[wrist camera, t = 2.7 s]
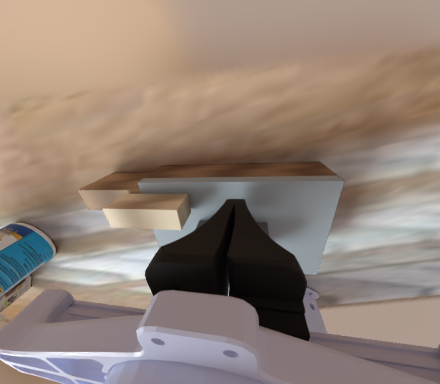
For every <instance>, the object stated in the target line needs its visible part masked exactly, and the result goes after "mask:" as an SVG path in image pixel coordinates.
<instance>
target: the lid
mask: <svg viewBox="0 0 440 384" xmlns="http://www.w3.org/2000/svg"><path fill="white" fill-rule="evenodd" d="M343 184H344V180H343V179H341V178H340V177H339V176H270V177H201V178H144V179H142V180H141V181H139V182H138V186H139V189H140V192H141V194H188V197H189V202H190V208H191V214H190V215H189V217H188V219H187V221H186V223H185V225H184V227H183V229H182V230H162V229H153V230H154V233H155V236H156V239H157V242H158V245H159V248H160V247H161V246H164V245H166V244H169V243H171V242H173V241H176V240H178V239H180V238H182V237H184V236H186V235H188V234H189V233H191V232H193V231H194V230H196V229H197V228H199V227H200V226H202V225H203V224H204V223H206V222H207V221H208V220H209V219H210V218H211V217H212V216H213V215H214V214H215V213H216V212H217V211H218V210H219V209H220V207H221V206H222V205H223V204H224V202H225V201H226V200H227V199H245V200H246V205H247V207H248V209H249V211H250V213H251V215H252V216H253V218H254V219H255V221H256V222H257V224H258V225H259V226H260V227H261V229H262V230H263V231H264V232H265V233H266V234H267V235H268V236H269V237H270V238H271V239H272V240H274V241H275V242H276V243H277V244H279V245H280V246H281V247H283V248H284V249H286V250H287V251H289V252H291V253H292V254H294V255H295V257H296V259H297V261H298V262H299V264H300V266H301V268H302V270H303V273H304V274H311V275H317V272H318V269H319V265H320V262H321V259H322V255H323V252H324V248H325V245H326V242H327V238H328V235H329V232H330V228H331V225H332V221H333V218H334V215H335V211H336V208H337V204H338V201H339V198H340V194H341V191H342V187H343Z"/></svg>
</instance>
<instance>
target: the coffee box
mask: <svg viewBox="0 0 440 384" xmlns="http://www.w3.org/2000/svg"><path fill="white" fill-rule="evenodd" d="M31 277H32V276H30V275H28V276H27V277H26V278H24V279H23V280H22V281H21V282H19V283H18V284H17V285H15V286H14V287H13V288H12V289H10V290H9V291H8V292H6V293H5V294H4V295H3V296H1V297H0V312H2V311H3V310H4V309H5V308H7V307H8V306H9V305H10V304H11V303H13V302H14V301H15V300H16V299H18V298H19V297H20V296H21V295H22V294H24V293H25V292H26V291H27V290H28V289H30V287H31Z"/></svg>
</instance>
